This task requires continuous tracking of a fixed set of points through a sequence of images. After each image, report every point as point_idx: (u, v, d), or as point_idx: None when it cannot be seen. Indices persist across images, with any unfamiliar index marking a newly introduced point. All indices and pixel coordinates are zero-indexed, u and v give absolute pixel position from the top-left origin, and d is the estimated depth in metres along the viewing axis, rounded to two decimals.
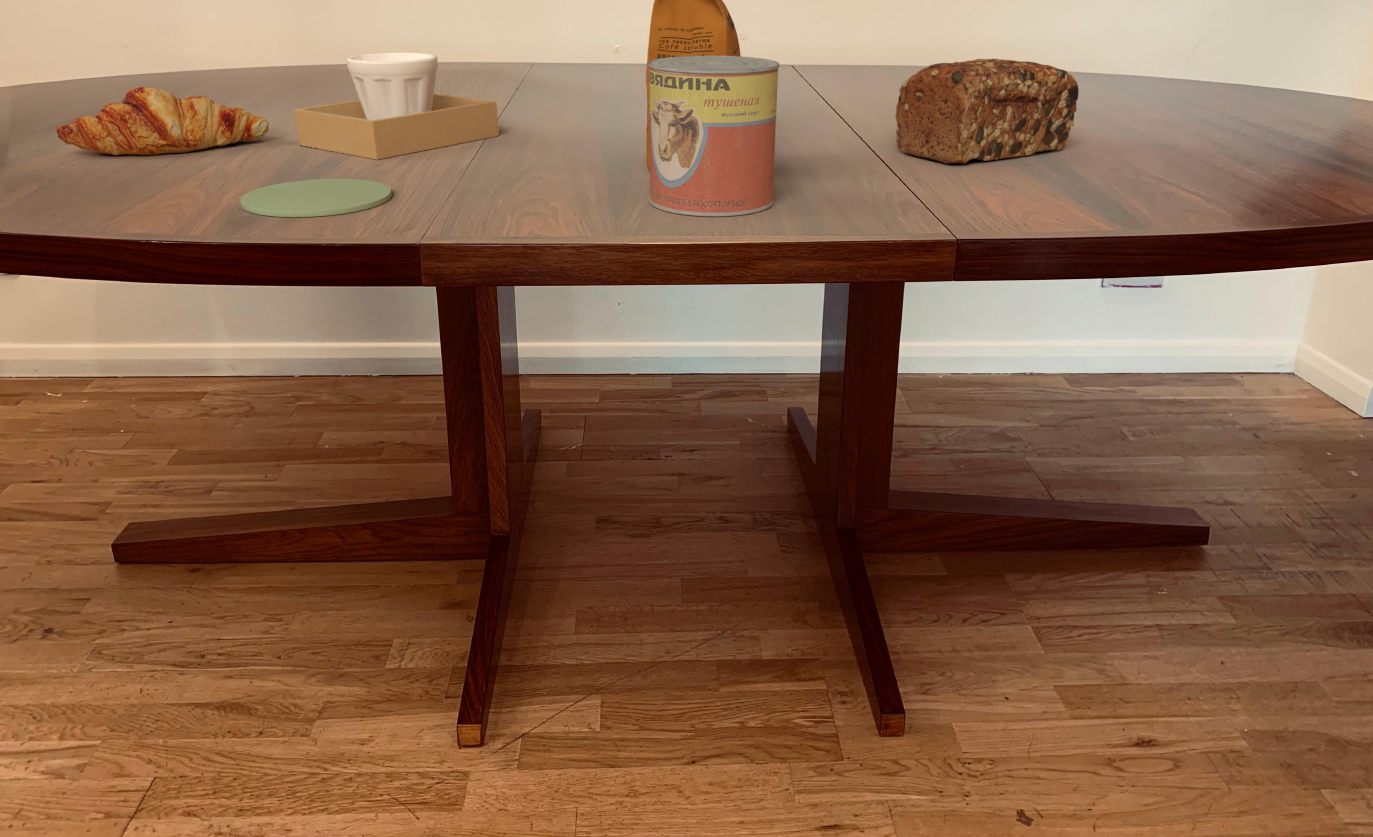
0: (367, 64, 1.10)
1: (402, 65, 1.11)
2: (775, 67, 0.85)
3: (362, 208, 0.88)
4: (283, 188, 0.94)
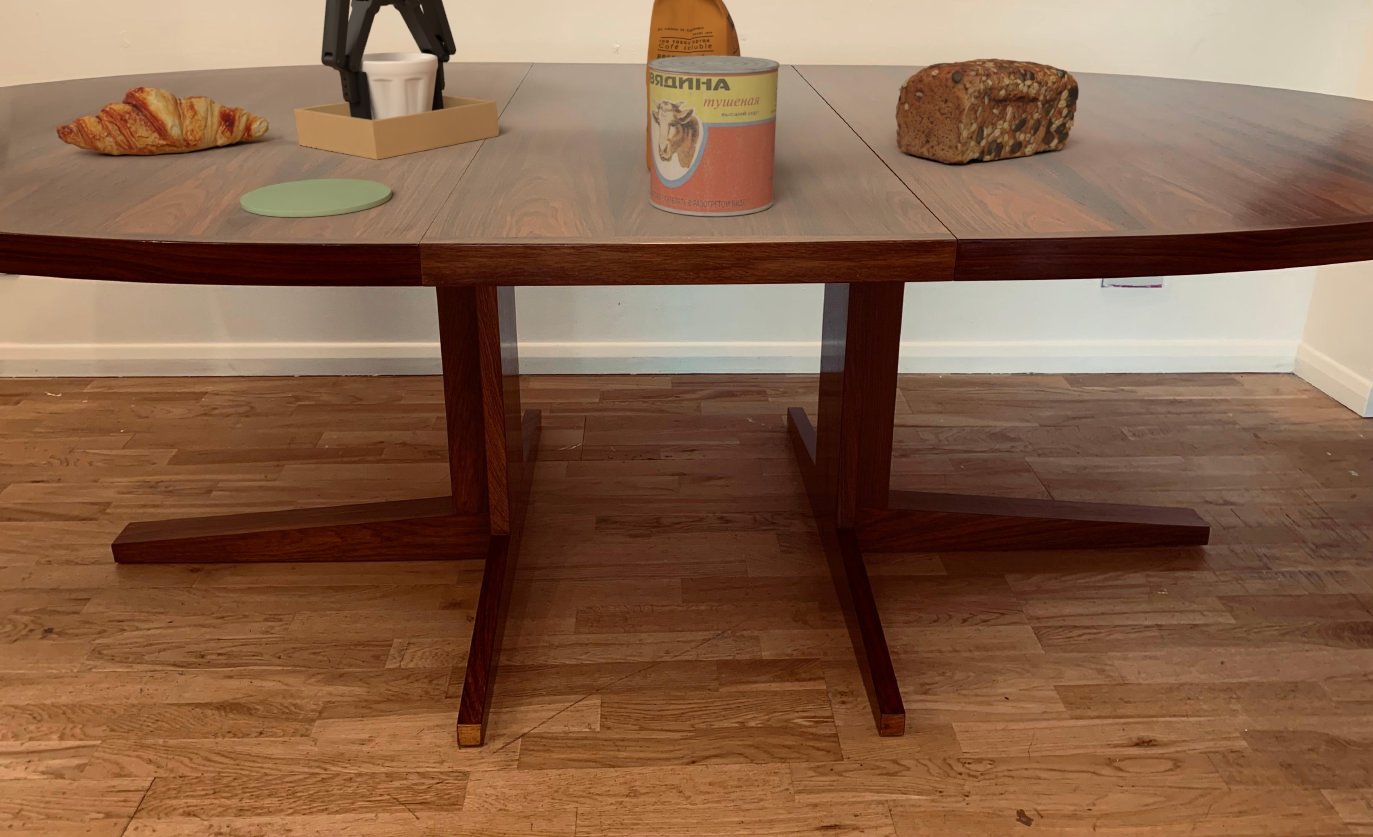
0: (367, 64, 1.10)
1: (402, 65, 1.11)
2: (775, 67, 0.85)
3: (362, 208, 0.88)
4: (283, 188, 0.94)
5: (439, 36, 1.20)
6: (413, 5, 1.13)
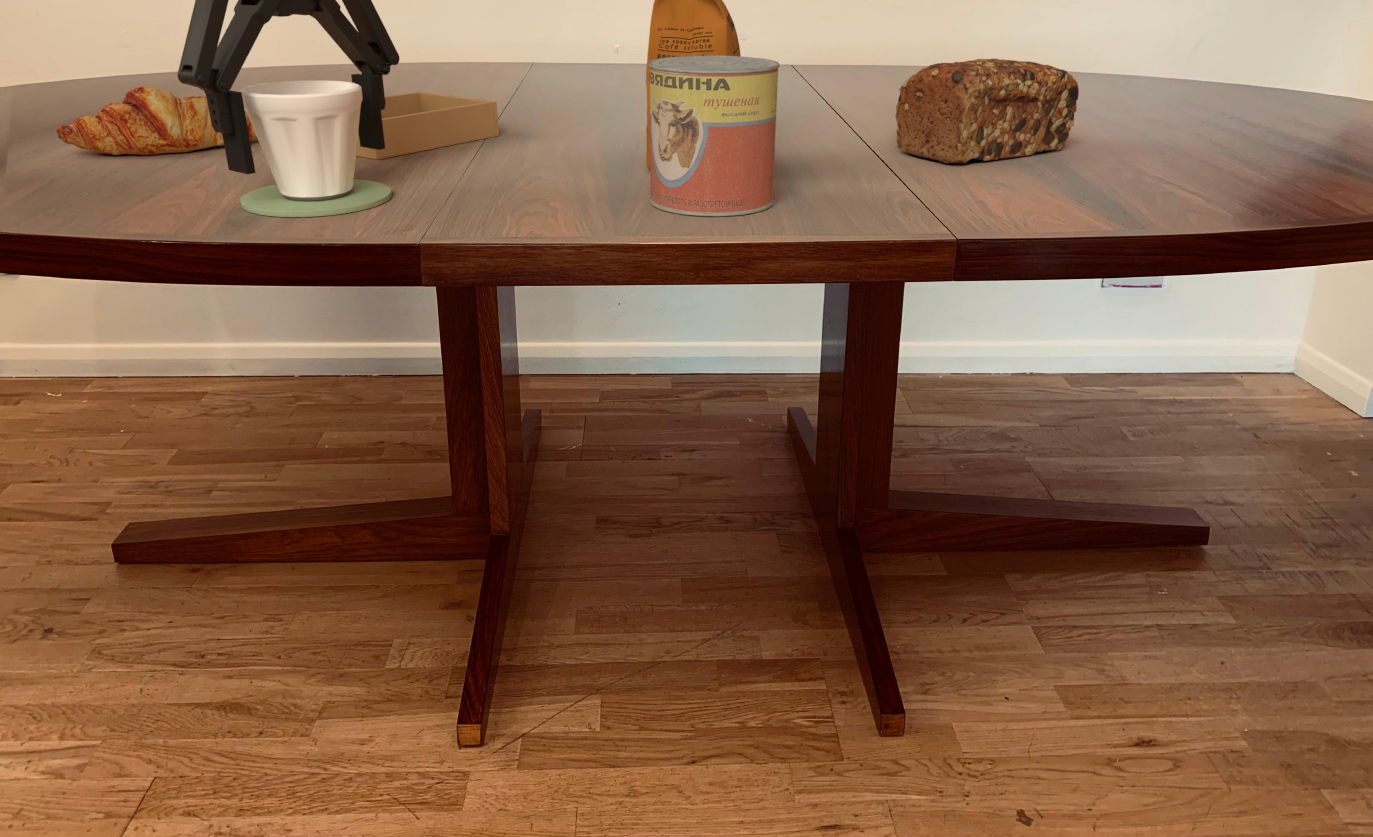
0: (263, 99, 0.84)
1: (310, 100, 0.84)
2: (775, 67, 0.85)
3: (362, 208, 0.88)
4: None
5: None
6: (330, 12, 0.86)
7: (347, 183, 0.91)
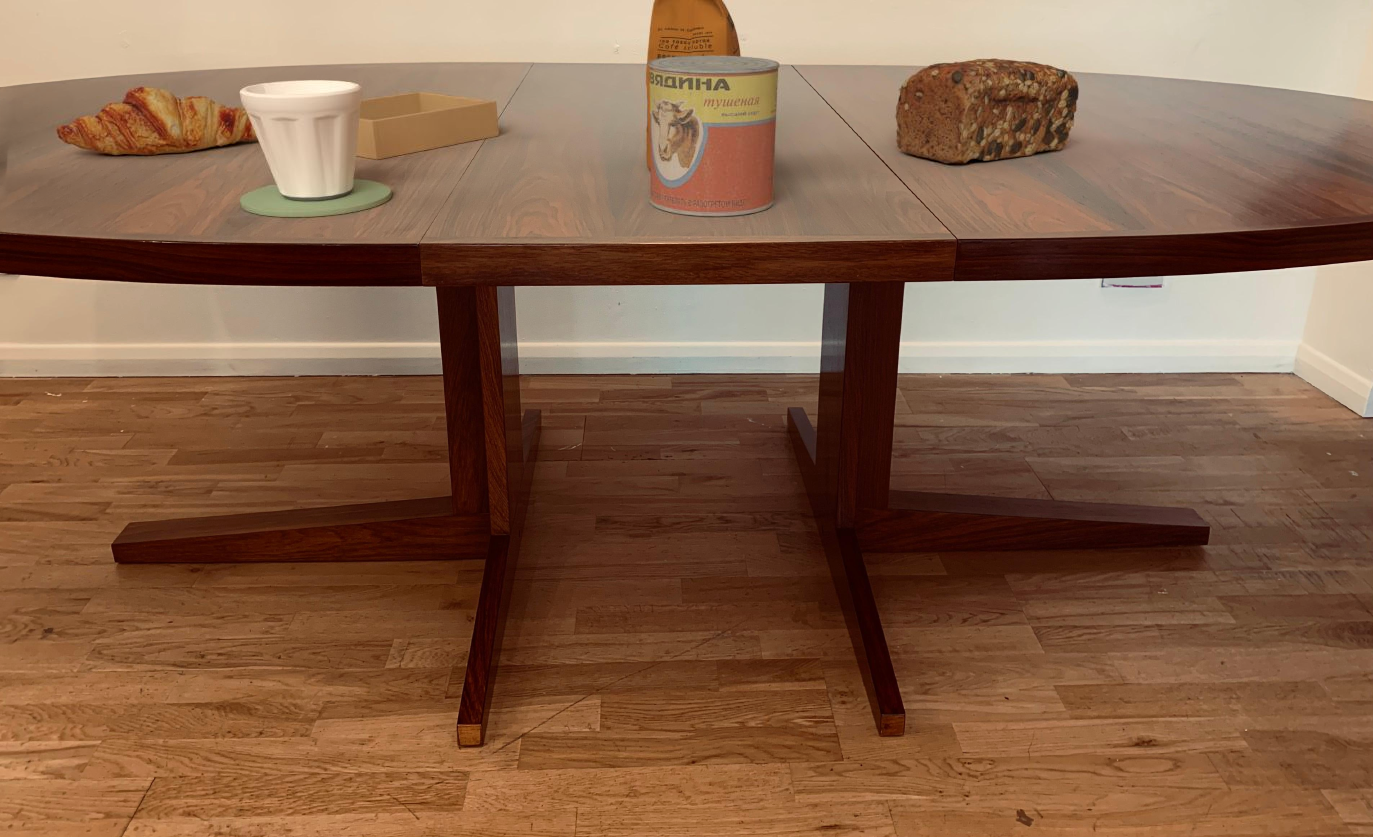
0: (263, 99, 0.84)
1: (310, 99, 0.84)
2: (775, 67, 0.85)
3: (362, 208, 0.88)
4: None
5: None
6: None
7: (347, 183, 0.91)
